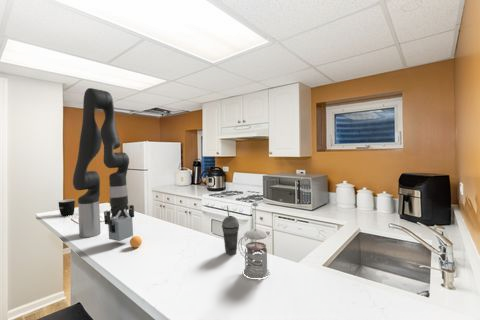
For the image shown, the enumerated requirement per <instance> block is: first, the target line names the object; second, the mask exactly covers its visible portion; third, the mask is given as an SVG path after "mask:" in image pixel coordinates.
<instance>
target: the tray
mask: <svg viewBox="0 0 480 320" xmlns="http://www.w3.org/2000/svg"><path fill="white" fill-rule="evenodd" d="M105 211H108V210H107V209H106V210H105ZM105 211H103V212H100V218H103V219H100V222H103V221H104V222H105V220H104V212H105ZM111 215H112V214H111ZM111 215H110V217H111ZM74 216H75V217H74V218H71V220H73V221H74V222H75V223H77V224H79V214H77V215H74ZM76 217H77V218H76Z"/></svg>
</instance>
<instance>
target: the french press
mask: <svg viewBox="0 0 480 320" xmlns="http://www.w3.org/2000/svg"><path fill="white" fill-rule="evenodd" d="M258 206H259V204H258V202H253V203H252V207H254V220H255V221H254V222H255V225H254V226H255V227H254V228H253V229H249V230H247V231H246V232H244V234H243V235H244V236H242V237H241V238H240V239H239V240H238V242H237V247H241V249H240V248H238V250H239V253H240V255H241V256H242V257H244V264H245V265H244V266H245V267H244V269H243V270H244V274H245V275H246V276H248V277H250V278H263V277H266V276H268V275H269V273H270V274H271V271H270V270H269V269H268V250H267V248H266V247H267V244H265V243H263V242H261V241H260V240H264V239H266V238H267V236H268V233H267V232H266V231H264V230H262V229H259V228H257V219H256V218H257V216H256V215H257V212H256V210H257V209H256V208H257V207H258ZM243 240H244V241H245V242H246V241H248V240H255V241H250V242H247V243H246V244H245V249H244V250H243V247H242V244H243V243H242V242H243ZM257 240H258V241H257ZM241 251H242V252H241ZM269 271H270V272H269ZM269 276H270V275H269Z"/></svg>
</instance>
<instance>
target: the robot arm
mask: <svg viewBox="0 0 480 320" xmlns="http://www.w3.org/2000/svg"><path fill="white" fill-rule="evenodd" d="M82 103H83V106H82V123H81V129H80V130H81V131H80V136H79V143H78V144H79V145H78V155H77V160H76V164H75V168H74V173H73V177H72V186H73V188H74V189H75V191H83V190H85V191H86V190H87V191H86V193H84V194H83V195H80V196H79V197H78V198H77V205H78V215H79V223H78V233H79V236H80V238H92V237H96V236H99V235H100V234H101V221H100V213H101V212H100V196H101V195H100V194H101V189H100V188H101V179H100V174H99V173H98V171H96V170H89V171H88V167H89V165H90V164H91V162H92V161H93V160H94V158H95V157H97V155H98V154H99V152H100V150H101V147H102V144H103V164H104V166H105V167H106V168H108V169H116V168H117V170H116V171H115V172H113V173H110V174H109V176H108V180H109V205H110V210H107V211H106V210H104V211H103V212H104V225H106V226H108V225H109V226H110V232H111V233H115V225H114V224H115V221H116V220H117V219H118V218H119V217H121V216H124V217H132V218H135V206H134V205H133V204H129V198H128V197H129V196H128V185H127V174H128V168H129V165H130V157H129V155H128V154H127V153H126V152H121V151H120V152H114V150H117V149H119V148H120V147H121V140H120V137H119V134H118V130H117V125H116V116H115V107H114V100H113V96H112V94H111V93H110V92H109V91H107V90H101V89H99V88H98V89H97V88H92V87H91V88H90V87H89V88H86V90H85V91H84V94H83V102H82ZM96 110H101V111H103V113H104V120H103V123H102V125H101V128H99V126H98V123H97V122H96V116H95V114H96V113H95V111H96ZM110 215H111V217H110Z"/></svg>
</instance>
